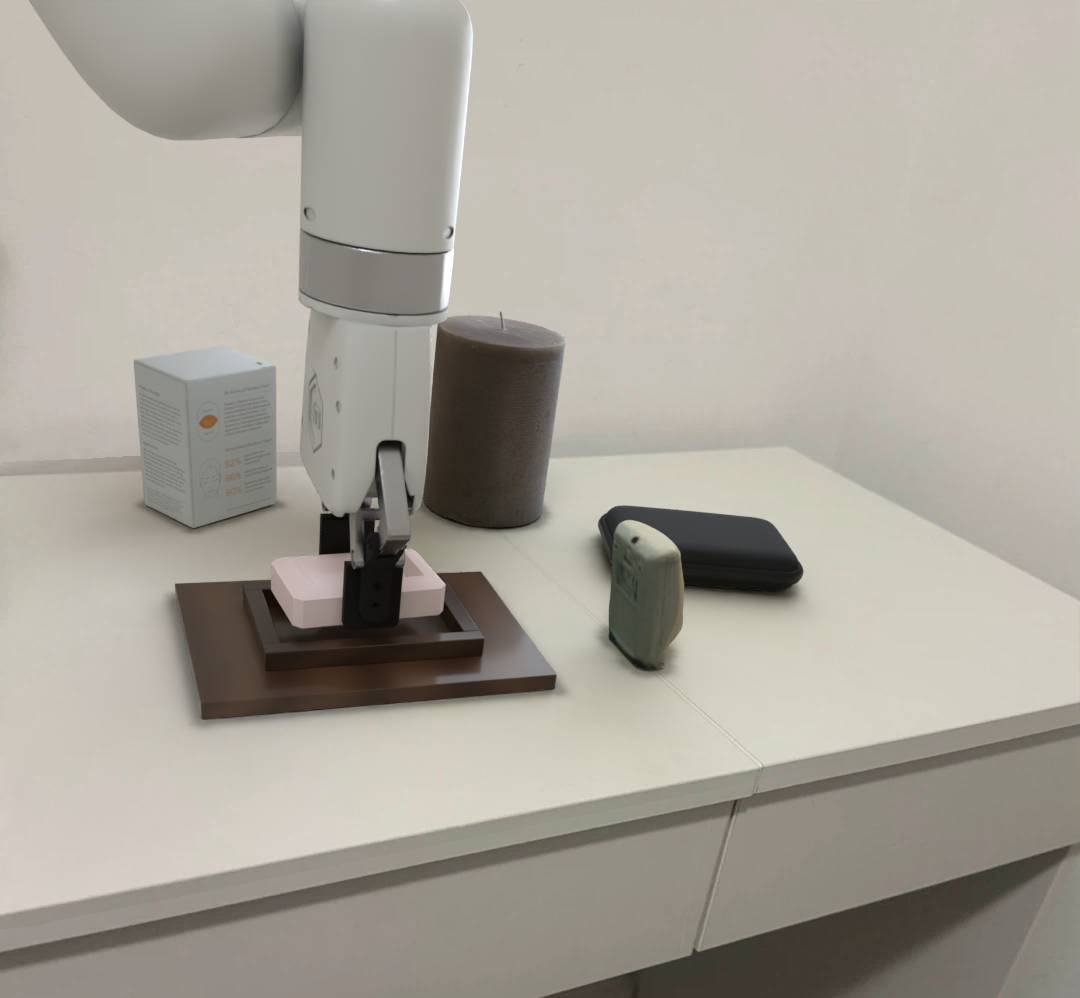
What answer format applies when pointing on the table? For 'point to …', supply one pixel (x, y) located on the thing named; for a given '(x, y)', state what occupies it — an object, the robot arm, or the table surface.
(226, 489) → the small box
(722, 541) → the carrying case
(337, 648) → the backing plate
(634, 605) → the grey-green rounded block
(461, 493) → the pillar candle
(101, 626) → the table surface
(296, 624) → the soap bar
